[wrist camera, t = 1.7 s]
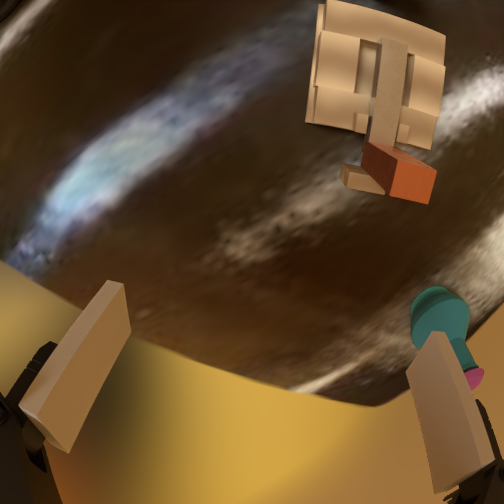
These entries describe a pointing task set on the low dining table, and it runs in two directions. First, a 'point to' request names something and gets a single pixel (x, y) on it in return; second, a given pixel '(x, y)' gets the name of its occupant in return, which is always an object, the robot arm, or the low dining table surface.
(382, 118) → the pin
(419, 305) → the perfume bottle
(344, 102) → the dock
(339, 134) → the low dining table surface
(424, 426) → the robot arm
